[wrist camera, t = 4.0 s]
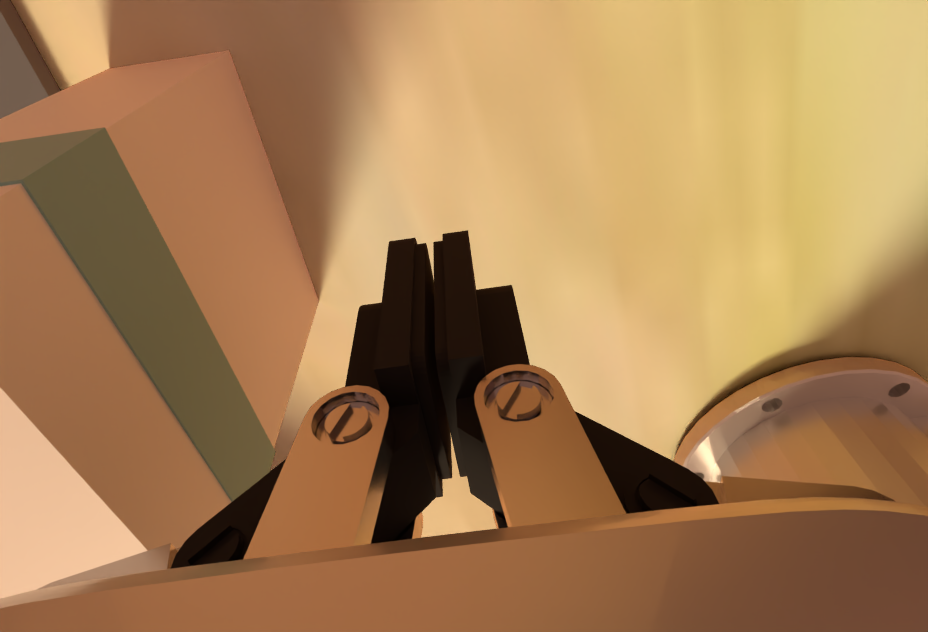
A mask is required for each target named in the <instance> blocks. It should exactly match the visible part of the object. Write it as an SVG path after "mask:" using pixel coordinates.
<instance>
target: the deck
mask: <svg viewBox="0 0 928 632" xmlns="http://www.w3.org/2000/svg"><path fill="white" fill-rule="evenodd" d="M318 303H319V300H318V297H317V295H316V292H315V289H314V286H313V283H312V281H311V278H310V275H309V272H308V269H307V267H306V264H305V261H304V258H303V255H302V253H301V250H300V247H299V244H298V241H297V239H296V236H295V233H294V230H293V227H292V225H291V222H290V219H289V216H288V213H287V211H286V208H285V205H284V202H283V199H282V197H281V194H280V191H279V188H278V185H277V183H276V180H275V177H274V174H273V172H272V169H271V166H270V163H269V160H268V158H267V155H266V152H265V149H264V146H263V144H262V141H261V138H260V135H259V132H258V130H257V127H256V124H255V121H254V118H253V116H252V113H251V110H250V107H249V104H248V102H247V99H246V96H245V93H244V90H243V88H242V85H241V82H240V79H239V76H238V74H237V71H236V68H235V65H234V62H233V60H232V57H231V54H230V51H229V50H227V51H221V52H214V53H207V54H201V55H194V56H188V57H181V58H175V59H168V60H162V61H155V62H148V63H142V64H135V65H129V66H122V67H116V68H109V69H107V70H105V71H103V72H101V73H99V74H96V75H94V76H92V77H90V78H88V79H86V80H83V81H81V82H79V83H77V84H75V85H72V86H70V87H68V88H66V89H64V90H62V91H59V92H57V93H55V94H53V95H51V96H49V97H46V98H44V99H42V100H40V101H38V102H36V103H33V104H31V105H29V106H27V107H25V108H23V109H20V110H18V111H16V112H14V113H12V114H10V115H7V116H5V117H3V118H1V119H0V599H1V598H5V597H9V596H13V595H17V594H20V593H24V592H28V591H33V590H36V589H39V588H41V587H43V586H45V585H47V584H49V583H51V582H54V581H57V580H60V579H63V578H66V577H69V576H72V575H75V574H78V573H81V572H84V571H88V570H91V569H94V568H97V567H100V566H103V565H106V564H109V563H112V562H115V561H118V560H121V559H124V558H127V557H130V556H133V555H136V554H139V553H142V552H145V551H148V550H151V549H154V548H157V547H160V546H163V545H166V544H169V543H171V544H172V545H173V546H174V547H175V548H179V547H181V546H182V545H183V544H184V542H185V541H186V540H187V539H188V538H189V537H190V536H191V535H192V534H193V533H194V532H195V531H196V530H197V529H198V528H199V527H201V526H202V525H203V524H204V523H206V522H207V521H208V520H210V519H211V518H212V517H213V516H215V515H216V514H217V513H218V512H220V511H221V510H222V509H223V508H225V507H226V506H227V505H229V504H230V503H231V502H232V501H234V500H235V499H236V498H237V497H239V496H240V495H241V494H242V493H244V492H245V491H246V490H248V489H249V488H250V487H251V486H253V485H254V484H255V483H256V482H258V481H259V480H260V479H261V478H263V477H264V476H265V475H267V474H268V473H269V472H270V469H271V466H272V462H273V459H274V456H275V452H276V451H275V449H274V447H275V444H276V440H277V437H278V434H279V431H280V427H281V424H282V421H283V417H284V414H285V411H286V408H287V404H288V401H289V398H290V395H291V391H292V388H293V385H294V381H295V378H296V375H297V372H298V368H299V365H300V362H301V358H302V355H303V352H304V349H305V345H306V342H307V339H308V335H309V332H310V329H311V326H312V322H313V319H314V316H315V313H316V309H317V306H318Z"/></svg>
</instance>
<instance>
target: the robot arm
mask: <svg viewBox="0 0 928 632" xmlns="http://www.w3.org/2000/svg"><path fill="white" fill-rule="evenodd" d="M450 432H451V436H450ZM451 437H452V441H453V446H454V451H455V455H456V460H457V464H458V469H459V474H460V477H464V476H467V477H468V482H469V487H470V492H471V494H473V495H474V496H476V497H477V498H478V499H480V500H481V501H483V502H484V503H485V504H487V505H488V506H490V507H491V508H492V510H493V516H494V521H495V524H496V528H497V529H490V530H482V531H474V532H465V533H457V534H448V535H440V536H432V537H423V538H421V535H422V529H423V515H422V511H423V510H424V509H425V508H426V507H427V506H428V505H429V504H430V503H431V502H432V501H433V500H434V499H435V498H436V497H443V489H442V479H448V478H452V459H451ZM0 632H928V382H926V381H925V380H924V379H923V378H922V377H921V376H919V375H918V374H917V373H916V372H915V371H914V370H912V369H910V368H907V367H905V366H903V365H901V364H898V363H896V362H892V361H887V360H882V359H877V358H866V357H843V358H835V359H827V360H819V361H814V362H810V363H806V364H802V365H798V366H794V367H790V368H787V369H784V370H782V371H779V372H776V373H774V374H771V375H768V376H766V377H763V378H761V379H759V380H757V381H755V382H753V383H751V384H749V385H747V386H745V387H743V388H741V389H739V390H738V391H736V392H735V393H733V394H732V395H730V396H729V397H727V398H726V399H724V400H723V401H721V402H720V403H718V404H717V405H715V406H714V407H713V408H712V409H711V410H710V411H709V412H708V413H706V414H705V415H704V416H703V417H702V418H701V419H700V420H699V421H698V422H697V423H696V424H695V426H694V427H693V428H692V429H691V430H690V432H689V433H688V434H687V435H686V437H685V438H684V440H683V442H682V443H681V445H680V447H679V449H678V451H677V453H676V456H675V460H674V461H672V460H670V459H668V458H666V457H664V456H662V455H660V454H658V453H656V452H654V451H652V450H650V449H648V448H646V447H644V446H642V445H640V444H638V443H636V442H634V441H632V440H630V439H628V438H626V437H624V436H623V435H621V434H619V433H617V432H615V431H613V430H611V429H609V428H607V427H605V426H603V425H601V424H599V423H597V422H595V421H593V420H591V419H589V418H587V417H585V416H583V415H581V414H579V413H577V412H575V411H574V409H573V407H572V406H571V404H570V402H569V400H568V398H567V396H566V394H565V392H564V390H563V388H562V386H561V384H560V383H559V381H558V380H557V379H556V377H555V376H554V375H552V374H551V373H549V372H548V371H546V370H545V369H542V368H539V367H536V366H533V365H530V364H529V359H528V355H527V350H526V346H525V341H524V337H523V332H522V328H521V323H520V319H519V314H518V310H517V305H516V301H515V296H514V292H513V288H512V285H508V286H501V287H494V288H486V289H479V290H476V286H475V279H474V271H473V264H472V257H471V250H470V242H469V235H468V231H461V232H454V233H447V234H443V241H438V242H434V280H433V275H432V269H431V264H430V259H429V254H428V249H427V245H426V243H424V244H417V242H416V239H415V238H411V239H404V240H396V241H390V242H389V246H388V255H387V263H386V272H385V280H384V289H383V297H382V303H376V304H368V305H362V306H360V308H359V311H358V316H357V322H356V328H355V334H354V339H353V345H352V351H351V356H350V362H349V368H348V374H347V379H346V385H345V387H343V388H340V389H337V390H334V391H331V392H330V393H328V394H326V395H325V396H323V397H321V398H320V399H319V400H318V401H317V402H315V403H314V404H313V405H312V406H311V407H310V409H309V410H308V412H307V414H306V415H305V417H304V419H303V421H302V423H301V426H300V428H299V430H298V433H297V435H296V437H295V440H294V442H293V444H292V447H291V449H290V451H289V454H288V456H287V458H286V460H284V461H283V462H282V463H280V464H279V465H278V466H277V467H275V468H274V469H273V470H272V471H270V472H269V473H268V474H267V475H265V476H264V477H263V478H261V479H260V480H259V481H258V482H256V483H255V484H254V485H253V486H251V487H250V488H249V489H248V490H246V491H245V492H244V493H242V494H241V495H240V496H239V497H237V498H236V499H235V500H234V501H232V502H231V503H230V504H229V505H227V506H226V507H225V508H223V509H222V510H221V511H220V512H218V513H217V514H216V515H215V516H213V517H212V518H211V519H210V520H208V521H207V522H206V523H204V524H203V525H202V526H201V527H199V528H198V529H197V530H196V531H195V532H194V533H193V534H192V535H191V536H190V537H189V538H188V539H187V540H186V541H185V542H184V544H183V545H182V546H181V547H179V548H175V547H174V546H173V545H172V544H171V543H169V544H166V545H163V546H160V547H157V548H154V549H151V550H148V551H145V552H142V553H139V554H136V555H133V556H130V557H127V558H124V559H121V560H118V561H115V562H112V563H109V564H106V565H103V566H100V567H97V568H94V569H91V570H88V571H84V572H81V573H78V574H75V575H72V576H69V577H66V578H63V579H60V580H57V581H54V582H51V583H49V584H47V585H45V586H43V587H41V588H39V589H36V590H33V591H28V592H24V593H20V594H17V595H13V596H9V597H5V598H1V599H0Z"/></svg>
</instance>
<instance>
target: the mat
mask: <svg viewBox="0 0 928 632" xmlns="http://www.w3.org/2000/svg"><path fill="white" fill-rule="evenodd" d="M59 91H60V89H59V87H58V86H57V84H56V82H55V80H54V78H53V77H52V75H51V73H50V71H49V69H48V68H47V66H46V64H45V62H44V60H43V59H42V57H41V55H40V53H39V51H38V50H37V48H36V46H35V44H34V42H33V40H32V39H31V37H30V35H29V33H28V31H27V30H26V28H25V26H24V24H23V22H22V21H21V19H20V17H19V15H18V13H17V12H16V10H15V8H14V6H13V4H12V3H11V1H10V0H0V119H1V118H3V117H5V116H7V115H10V114H12V113H14V112H16V111H18V110H20V109H23V108H25V107H27V106H29V105H31V104H33V103H36V102H38V101H40V100H42V99H44V98H46V97H49V96H51V95H53V94H55V93H57V92H59Z"/></svg>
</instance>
